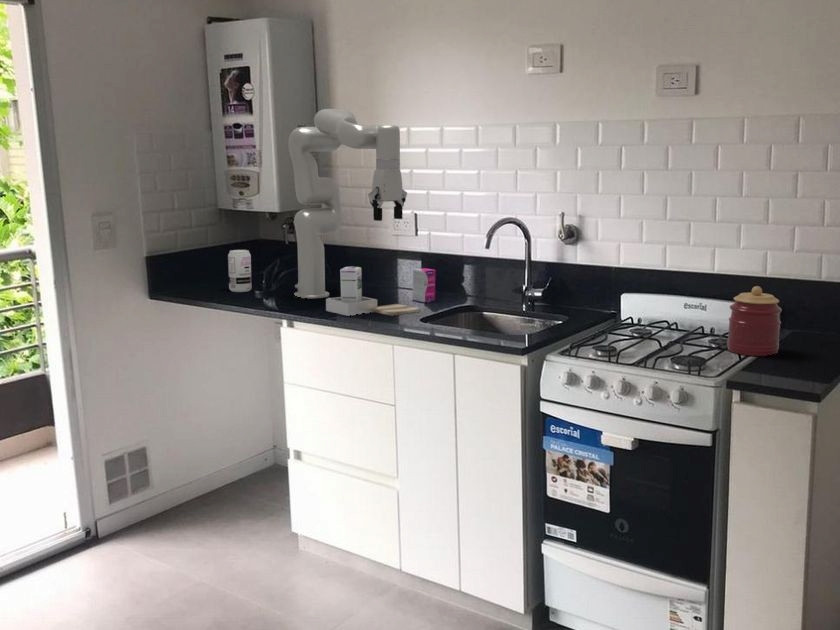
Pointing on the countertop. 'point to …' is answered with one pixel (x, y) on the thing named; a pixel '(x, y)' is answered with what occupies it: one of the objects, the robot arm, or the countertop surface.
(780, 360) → the countertop surface
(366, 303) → the flat grey box
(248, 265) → the supplement can
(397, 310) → the birch board
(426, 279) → the supplement box
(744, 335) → the canister
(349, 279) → the syrup box
